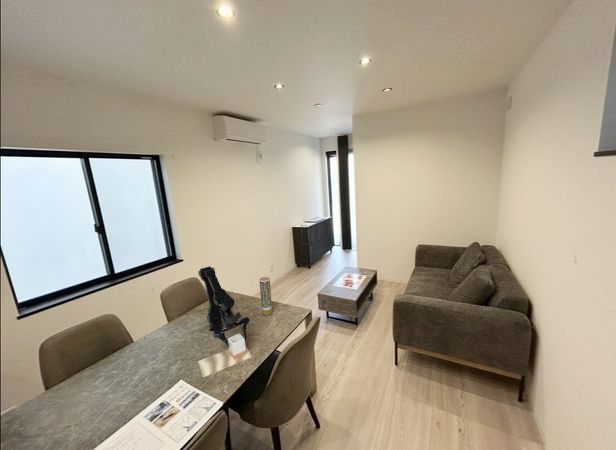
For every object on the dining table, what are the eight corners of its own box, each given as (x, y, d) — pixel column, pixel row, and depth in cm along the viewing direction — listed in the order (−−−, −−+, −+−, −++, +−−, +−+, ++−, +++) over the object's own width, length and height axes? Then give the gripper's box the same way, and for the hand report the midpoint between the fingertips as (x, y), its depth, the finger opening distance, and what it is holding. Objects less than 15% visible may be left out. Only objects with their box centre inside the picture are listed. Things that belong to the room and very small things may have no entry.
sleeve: (234, 360, 128) (232, 344, 127) (229, 353, 133) (227, 338, 132) (246, 354, 132) (244, 338, 131) (241, 348, 137) (239, 333, 136)
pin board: (202, 379, 118) (201, 371, 118) (198, 362, 129) (197, 355, 128) (252, 358, 130) (251, 351, 130) (244, 345, 141) (243, 338, 141)
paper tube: (270, 316, 170) (267, 281, 165) (260, 315, 171) (257, 280, 166) (273, 311, 176) (271, 277, 172) (264, 310, 178) (261, 276, 173)
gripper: (211, 315, 126) (222, 346, 119) (246, 302, 137) (258, 330, 131) (208, 323, 133) (218, 352, 127) (242, 310, 145) (252, 337, 138)
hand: (237, 342), depth 130 cm, fingers open, 9 cm apart
